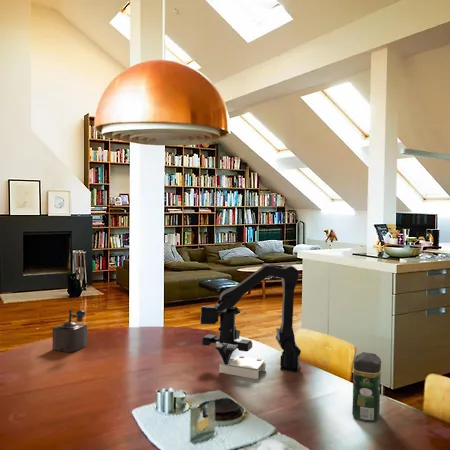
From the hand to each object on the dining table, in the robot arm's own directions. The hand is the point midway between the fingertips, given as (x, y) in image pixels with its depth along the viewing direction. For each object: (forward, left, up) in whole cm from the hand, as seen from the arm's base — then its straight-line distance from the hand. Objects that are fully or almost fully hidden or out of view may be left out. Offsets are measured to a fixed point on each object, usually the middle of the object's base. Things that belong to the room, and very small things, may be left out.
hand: (226, 364), depth 182 cm
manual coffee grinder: (+67, +6, -2) cm, 67 cm away
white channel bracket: (-7, 0, -2) cm, 7 cm away
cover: (-8, 0, +2) cm, 8 cm away
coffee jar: (-53, +18, -2) cm, 56 cm away
